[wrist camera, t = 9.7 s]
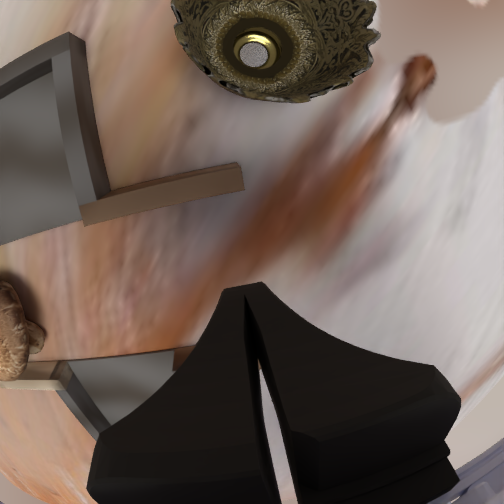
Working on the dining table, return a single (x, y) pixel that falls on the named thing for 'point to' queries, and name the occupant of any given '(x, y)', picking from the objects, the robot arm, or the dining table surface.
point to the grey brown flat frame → (80, 212)
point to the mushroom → (15, 335)
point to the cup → (278, 44)
